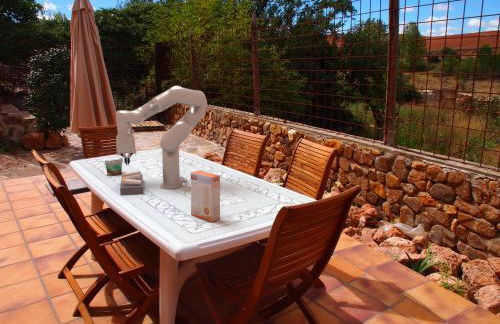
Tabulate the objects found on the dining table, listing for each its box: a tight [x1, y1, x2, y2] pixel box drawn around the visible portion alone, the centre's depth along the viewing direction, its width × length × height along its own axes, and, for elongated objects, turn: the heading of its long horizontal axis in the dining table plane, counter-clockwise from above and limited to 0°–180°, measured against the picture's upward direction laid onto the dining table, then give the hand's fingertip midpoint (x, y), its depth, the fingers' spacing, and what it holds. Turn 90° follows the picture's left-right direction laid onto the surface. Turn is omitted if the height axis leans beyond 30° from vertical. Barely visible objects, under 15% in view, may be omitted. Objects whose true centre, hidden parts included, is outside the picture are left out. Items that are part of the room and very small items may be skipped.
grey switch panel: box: [119, 173, 145, 196], centre depth 229 cm, size 12×32×4 cm, turn 16°
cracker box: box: [190, 170, 221, 223], centre depth 181 cm, size 14×6×21 cm, turn 48°
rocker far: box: [122, 169, 142, 177], centre depth 235 cm, size 10×4×2 cm, turn 106°
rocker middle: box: [123, 173, 142, 179], centre depth 227 cm, size 10×4×2 cm, turn 106°
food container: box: [104, 157, 124, 177], centre depth 254 cm, size 12×6×10 cm, turn 143°
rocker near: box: [122, 179, 141, 184], centre depth 218 cm, size 10×4×2 cm, turn 105°
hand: (127, 164), depth 226 cm, fingers closed
